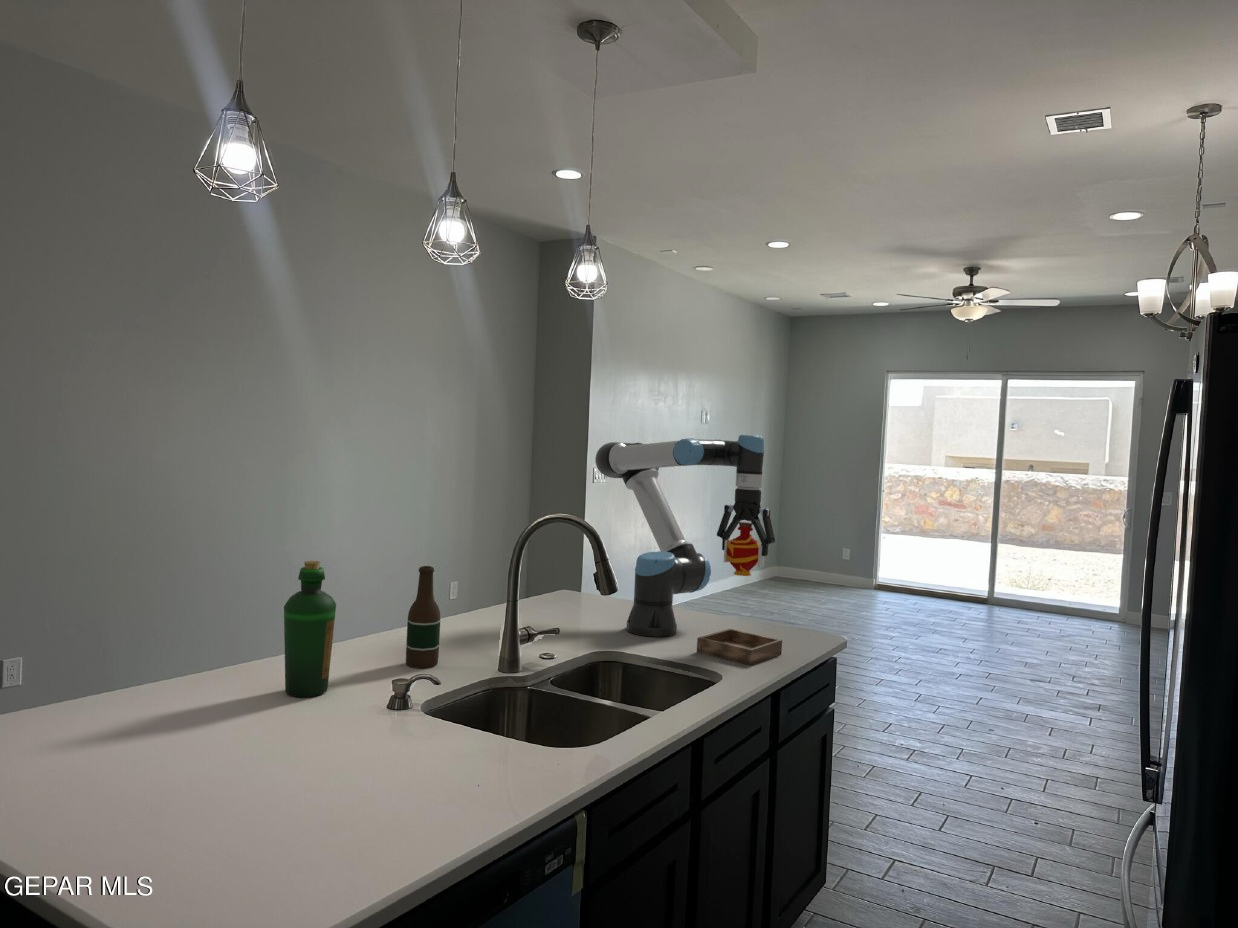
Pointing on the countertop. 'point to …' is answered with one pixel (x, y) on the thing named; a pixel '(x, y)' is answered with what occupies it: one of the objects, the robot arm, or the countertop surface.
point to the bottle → (308, 634)
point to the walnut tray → (739, 646)
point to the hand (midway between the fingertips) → (743, 564)
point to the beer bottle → (423, 624)
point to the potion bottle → (743, 550)
